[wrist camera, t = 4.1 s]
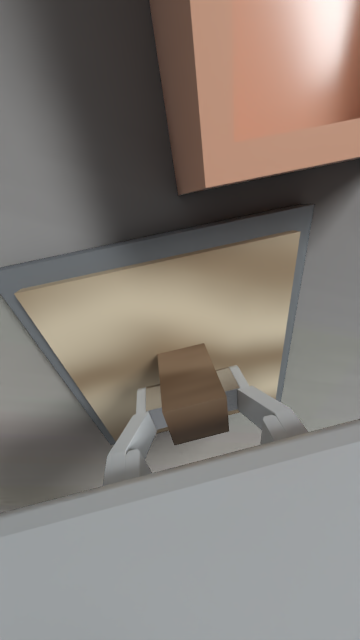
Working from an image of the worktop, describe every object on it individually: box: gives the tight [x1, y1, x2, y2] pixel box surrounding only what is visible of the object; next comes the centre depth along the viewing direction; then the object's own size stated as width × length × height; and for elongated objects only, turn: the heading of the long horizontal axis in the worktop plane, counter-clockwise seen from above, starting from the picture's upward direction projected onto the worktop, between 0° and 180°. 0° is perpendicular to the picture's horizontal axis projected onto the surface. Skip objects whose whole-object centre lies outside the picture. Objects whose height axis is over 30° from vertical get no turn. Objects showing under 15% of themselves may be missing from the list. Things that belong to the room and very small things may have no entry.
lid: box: [14, 230, 300, 445], centre depth 11 cm, size 14×14×5 cm
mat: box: [0, 204, 315, 445], centre depth 14 cm, size 16×16×1 cm
